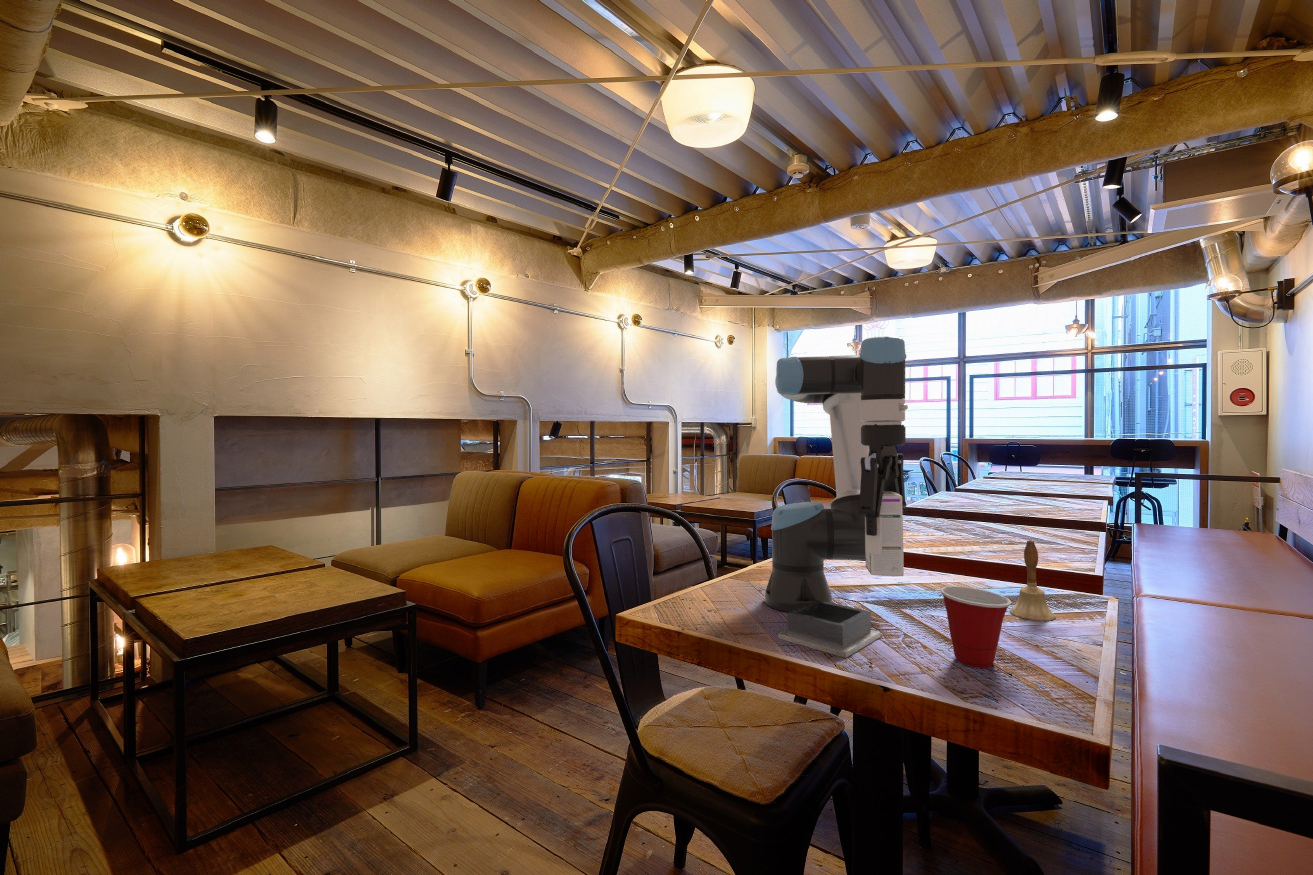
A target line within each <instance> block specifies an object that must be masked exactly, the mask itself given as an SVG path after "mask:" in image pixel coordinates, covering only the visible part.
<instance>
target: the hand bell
mask: <svg viewBox="0 0 1313 875" xmlns="http://www.w3.org/2000/svg"><path fill="white" fill-rule="evenodd" d="M1023 551H1024V552H1023V559H1024V564H1025V566H1026V572H1027V573H1026V574H1027V576H1026V578H1027V579H1026V584H1027V585H1026V586H1023V587H1021V588H1020V590H1019V593H1018V594H1019V595H1018V598H1017V601H1016V604H1014V606H1012V607H1011V608H1010V610H1009V613H1010V614H1011V615H1013V616H1014V617H1016V618H1017V617H1018V618H1020V619H1024V620H1029V621H1030V620H1031V621H1036V622H1040V621H1041V622H1050V621H1054V620H1055V619H1056V614H1055V613H1054V612H1053V611H1052V610H1051V609H1050V608H1049V605H1048V603H1047V599H1046V593H1045V591H1044V590H1043V589H1041V588H1039V587H1038V585H1037V584H1038V583H1037V566H1038V565H1039V552H1038V549H1037V546H1036V544H1035V541H1034V540H1027V541H1026V544H1025V547H1024V550H1023Z"/></svg>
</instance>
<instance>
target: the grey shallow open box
mask: <svg viewBox="0 0 1313 875" xmlns="http://www.w3.org/2000/svg"><path fill="white" fill-rule="evenodd" d="M871 615H872V613H871V611H869V610H864V609H861V608H855V607H852V606H851V607H850V606H846V605H842V604H837V603H833V602H832V603H829V602H825V601H820V600H816V601H814V602H812V603H809V604H807V605H805V606H802V607H800V608H798V609H796V610H793V611H791V612H787V629H785V630H783V631H781V632H779V633H778V639H780V640H782V641H786V642H789V643H793V644H795V645H796V644H797V645H799V646H800V645H801V646H803V647H805V648H811V649H813V650H817V651H821V652H823V653H828V654H830V655H835V656H838V657H842V658H844V659H845V658H846V659H847V658H849V657H850V656H852V655H854V654H855V653H856V652H859V651H860V650H862V649H863V648H865V647H867V646H868V645H870V644H871V643H873V642H875V641H877V640H878V639H880V638H881V631H877V630H874V629H871V628H872V622H871V621H872V620H871V619H872V616H871Z"/></svg>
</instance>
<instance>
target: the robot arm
mask: <svg viewBox="0 0 1313 875" xmlns="http://www.w3.org/2000/svg"><path fill="white" fill-rule="evenodd" d="M906 359H907V354H906V344H905V340H904V338H902V337H899V336H891V335H889V336H875V337H869V338H868V337H867V338H864V339H863V340H862V341H861V343H860V352H859V354H853V355H852V354H851V355H849V354H848V355H829V356H828V355H827V356H789V357H781V358H779V359H778V360H777V361H776V367H775V370H776V371H775V372H776V373H775V374H776V376H775V382H774V383H775V384H774V385H775V387H776V392H777V393H778V394H779V395H780V396H782V397H783V398H785V399H787V400H789V401H793V402H796V403H803V404H822V409H823V411H824V413H826V414H828V415H829V420H830V421H829V422H830V433H831V434H830V435H831V446H832V456H833V468H834V470H833V471H834V481H835V482H834V483H835V492H836V495H835V496H836V497H835V498H833V499H832V500H831V502H830V508H825V507H824V503H822V502H821V501H801V502H793V503H788V504H784V505H783V504H782V505H780V506H777V507H776V508H775V509H774V510H773V511H772V516H771V527H770V529H771V533H772V534H771V536H772V538H771V539H772V543H771V547H772V548H771V552H772V553H771V554H772V555H771V556H772V558H771V560H772V563H771V564H772V566H771V567H772V569H771V573H770V576H769V579H768V582H767V586H766V589H765V592H764V601H765V602H764V603H765V604H766V605H767V606H768V607H770V608H772V609H775V610H777V611H781V612H786V613H789V612H791V611H793V610H796V609H798V608H800V607H802V606H805V605H807V604H809V603H812V602H814V601H816V600H820V601H825V602H829V603H833V596H832V592H831V589H830V586H829V584H828V581H827V577H826V574H825V572H824V571H825V570H824V567H825V566H824V561H825V560H828V561H830V560H832V561H865V562H866V555H865V553H872V554H879V555H881V554H882V517H879V515H880V509H881V502H882V496H883V491H891V492H896V493H898V494H899V495H901V496H902V511H906V508H907V505H906V494H905V493H906V491H905V490H906V489H905V476H904V474H905V472H904V459H905V458H904V454H903V453H898V452H897V447H898V446H899V447H902V446H904V445H905V444H906V440H907V439H906V437H907V436H906V434H907V433H906V426H905V425H904V424H902V422H905V421H906V410H908V408H909V406H908V404H906Z"/></svg>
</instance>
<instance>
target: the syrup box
mask: <svg viewBox="0 0 1313 875" xmlns="http://www.w3.org/2000/svg"><path fill="white" fill-rule="evenodd" d="M903 512H904V511H903V510H902V496H901V495H899V494H898V493H896V492H891V491H884V490H883V496H882V502H881V509H880V515H879V517H882V554H881V555H879V554H872V553H865V555H866V561H865V569H867V571H868V573H870V575H871V576H878V577H904V576H905V575H904V574H905V573H904V571H905V570H904V568H905V567H904V564H905V562H904V560H905V558H904V554H905V553H904V525H903V524H904V523H903V522H904V517H903V516H904V515H903V514H904V513H903Z"/></svg>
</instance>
